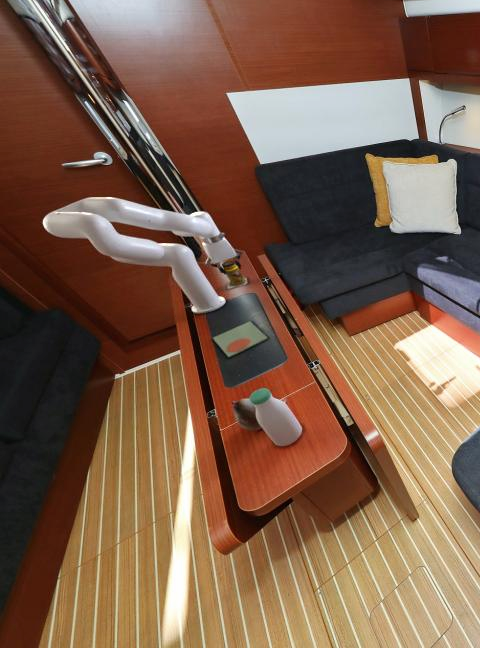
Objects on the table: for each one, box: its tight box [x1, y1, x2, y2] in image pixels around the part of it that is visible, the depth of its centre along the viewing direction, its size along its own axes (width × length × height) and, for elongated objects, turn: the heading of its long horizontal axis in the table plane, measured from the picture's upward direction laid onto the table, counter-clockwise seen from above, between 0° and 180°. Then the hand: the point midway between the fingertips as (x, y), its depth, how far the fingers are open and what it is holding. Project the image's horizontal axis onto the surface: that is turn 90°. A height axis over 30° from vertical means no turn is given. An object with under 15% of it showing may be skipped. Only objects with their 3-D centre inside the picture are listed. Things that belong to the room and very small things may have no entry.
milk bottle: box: [249, 387, 303, 447], centre depth 94 cm, size 8×8×20 cm
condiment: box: [221, 260, 248, 290], centre depth 166 cm, size 7×8×12 cm
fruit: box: [230, 398, 263, 432], centre depth 100 cm, size 10×9×12 cm
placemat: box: [212, 320, 269, 359], centre depth 135 cm, size 18×14×1 cm
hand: (232, 270), depth 166 cm, fingers closed on condiment, 6 cm apart
